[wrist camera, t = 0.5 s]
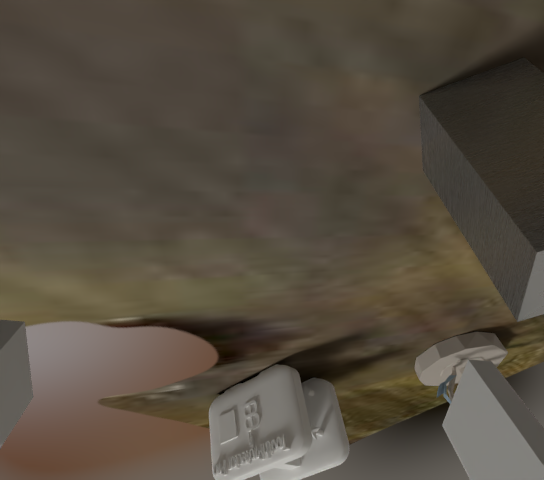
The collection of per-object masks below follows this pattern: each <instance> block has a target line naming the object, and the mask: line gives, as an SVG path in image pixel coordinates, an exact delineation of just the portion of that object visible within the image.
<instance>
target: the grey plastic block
mask: <svg viewBox="0 0 544 480" xmlns="http://www.w3.org/2000/svg"><path fill="white" fill-rule="evenodd" d="M209 423H210V440H211V455H212V472H213V476H214V478H215V479H216V480H244V479H247V478H249V477H252V476H255V475H257V474H260V479H261V480H300V479H302V478H305V477H308V476H310V475H313V474H316V473H319V472H322V471H324V470H327V469H330V468H332V467H335V466H338V465H340V464H342V463H343V462H344V461H345V460H346V458H347V457H348V454H349V450H350V449H349V448H350V447H349V442H348V438H347V434H346V431H345V427H344V423H343V419H342V416H341V412H340V408H339V404H338V400H337V397H336V393H335V389H334V386H333V385H332V384H331V383H330V382H328V381H326V380H324V379H317V378H315V377H314V378H311V379H309V380H307V381H305V382H303V383H301V380H300V375H299V373H298V371H297V370H296V369H294V368H292V367H289V366H287V365H278V364H276V365H274V366H272V367H270V368H268V369H266V370H264V371H262V372H260V373H259V375H258V376H256V377H254V378H252V379H250V380H248V381H246V382H245V383H239V384H237V385H235V386H233V387H231V388H229V389H227V390H226V391H225V392H224V393H223V394H221V395H219V396H218V397H217V398H216V399H215V400H214V401H213V402H212V404H211V406H210V409H209Z"/></svg>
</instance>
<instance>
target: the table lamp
mask: <svg viewBox="0 0 544 480" xmlns="http://www.w3.org/2000/svg"><path fill="white" fill-rule="evenodd" d="M507 354H508V352H507V350H506V349H505V348H504V346H503V345H502V343H501V342H500V340H499V339H498V338H497V336H496V335H495V333H486V332H473V333H468V334H463V335H458V336H455V337H452V338H449V339H447V340H444V341H442V342H439V343H437V344H434V345H433V346H432V347H430V348H429V349H428V350H426V351H425V352H424V353H422V354H421V355H419V356H418V357H417V358H416V363H415V371H416V373H417V376H418V378H419V380H420V381H421V382H422V383H423V384H424V385H430V386H439V388H438V392H437V397H438V396H440V395H441V394H443V393H444V397H445V398H446V400H447V401H448V402H449V403H450V404H451V402H452V399H453V397H454V394H453V389H454V384H455V383H459V381H460V379H461V376H462V374H463V371H464V369H465V366H466V364H467V361H468V359H470V360H481V361H492V363H493V364H494V365H495V366H496V367H497V366H498V365H499V364H500V362H501V361H502V360H503V359H504V357H505V356H506V355H507ZM447 385H448V392H449V396H450V399H449V398H448V396H447V395H446V386H447Z"/></svg>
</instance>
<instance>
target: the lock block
mask: <svg viewBox="0 0 544 480" xmlns="http://www.w3.org/2000/svg"><path fill="white" fill-rule="evenodd" d="M419 106H420V125H421V144H422V164H423V171H424V173H425V175H426V176H427V178H428V179H429V181H430V183H431V184H432V186H433V187H434V189H435V191H436V192H437V194H438V195H439V197H440V199H441V200H442V202H443V203H444V205H445V207H446V208H447V210H448V211H449V213H450V215H451V216H452V218H453V219H454V221H455V223H456V224H457V226H458V227H459V229H460V231H461V232H462V234H463V235H464V237H465V239H466V240H467V242H468V243H469V245H470V247H471V248H472V250H473V251H474V253H475V255H476V256H477V258H478V259H479V261H480V263H481V264H482V266H483V268H484V269H485V271H486V272H487V274H488V276H489V277H490V279H491V280H492V282H493V284H494V285H495V287H496V288H497V290H498V292H499V293H500V295H501V296H502V298H503V300H504V301H505V303H506V304H507V306H508V308H509V309H510V311H511V312H512V314H513V316H514V317H515V319H516V320H517V322H518V321H521V320H525V319H528V318H532V317H535V316H539V315H542V314H544V73H543V72H541V71H540V70H539V69H538V68H537V67H535V66H534V65H533V64H532V63H530V62H529V61H528V60H527V59H526V58H521V59H518V60H516V61H513V62H510V63H507V64H505V65H502V66H499V67H496V68H494V69H491V70H488V71H485V72H483V73H480V74H477V75H475V76H472V77H469V78H466V79H464V80H461V81H458V82H455V83H453V84H450V85H447V86H444V87H442V88H439V89H436V90H434V91H431V92H428V93H425V94H423V95H420V96H419Z"/></svg>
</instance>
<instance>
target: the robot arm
mask: <svg viewBox="0 0 544 480" xmlns="http://www.w3.org/2000/svg"><path fill="white" fill-rule="evenodd" d="M32 398H33V391H32V382H31V373H30V364H29V355H28V347H27V338H26V329H25V322H20V321H9V320H0V448H1V447H2V445H3V443H4V442H5V440H6V439H7V437H8V436H9V434H10V433H11V431H12V429H13V428H14V426H15V425H16V423H17V422H18V420H19V419H20V417H21V415H22V414H23V412H24V411H25V409H26V408H27V406H28V404H29V403H30V401H31V400H32ZM442 426H443V428H444V430H445V432H446V434H447V435H448V438H449V440H450V442H451V443H452V445H453V447H454V449H455V451H456V453H457V455H458V457H459V459H460V461H461V463H462V465H463V467H464V469H465V471H466V473H467V475H468V476H469V479H470V480H544V428H543V427H542V425H541V424H540V423H539V422H538V420H537V419H536V418H535V416H534V415H533V414H532V412H531V411H530V410H529V409H528V407H527V406H526V405H525V404H524V402H523V401H522V400H521V398H520V397H519V396H518V395H517V393H516V392H515V391H514V389H513V388H512V387H511V386H510V384H509V383H508V382H507V380H506V379H505V378H504V377H503V375H502V374H501V373H500V372H499V370H498V369H497V368H496V366H495V365H494V364H493V363H492V361H481V360H470V359H468V361H467V364H466V366H465V369H464V371H463V374H462V376H461V379H460V381H459V384H458V386H457V389H456V392H455V394H454V397H453V399H452V402H451V404H450V407H449V409H448V412H447V414H446V417H445V420H444V422H443V425H442Z"/></svg>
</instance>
